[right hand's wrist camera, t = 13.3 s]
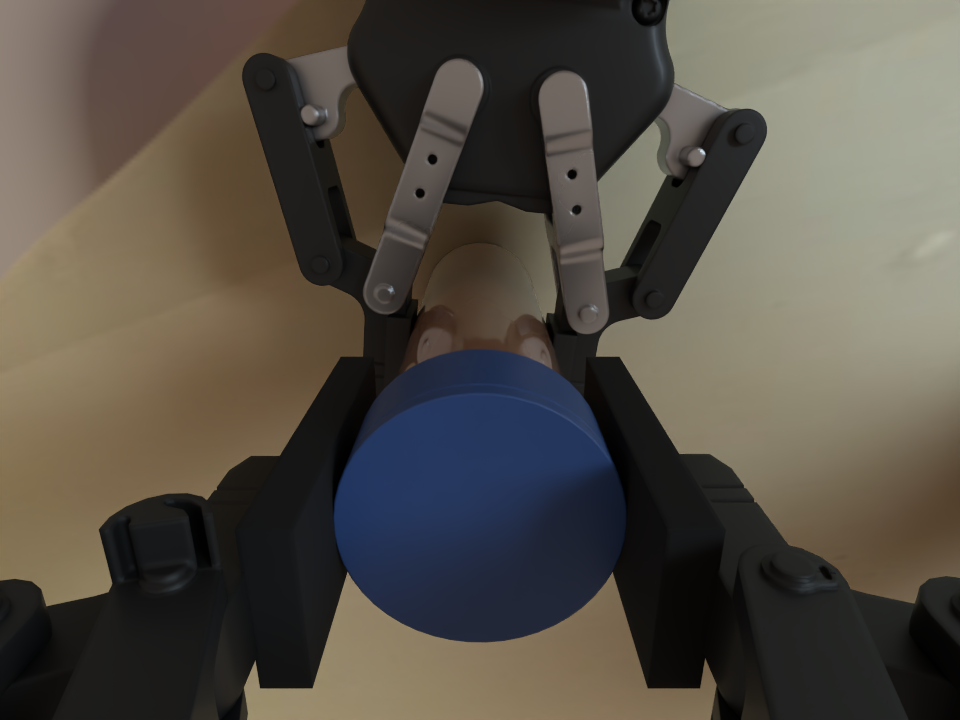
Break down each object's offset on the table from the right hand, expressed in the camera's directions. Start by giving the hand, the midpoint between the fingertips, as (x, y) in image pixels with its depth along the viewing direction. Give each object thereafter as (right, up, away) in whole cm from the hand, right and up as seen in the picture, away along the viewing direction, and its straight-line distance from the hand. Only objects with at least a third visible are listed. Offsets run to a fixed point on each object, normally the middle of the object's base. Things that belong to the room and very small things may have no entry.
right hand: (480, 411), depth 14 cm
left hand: (0, -1, +6) cm, 6 cm away
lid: (0, -1, -4) cm, 4 cm away
